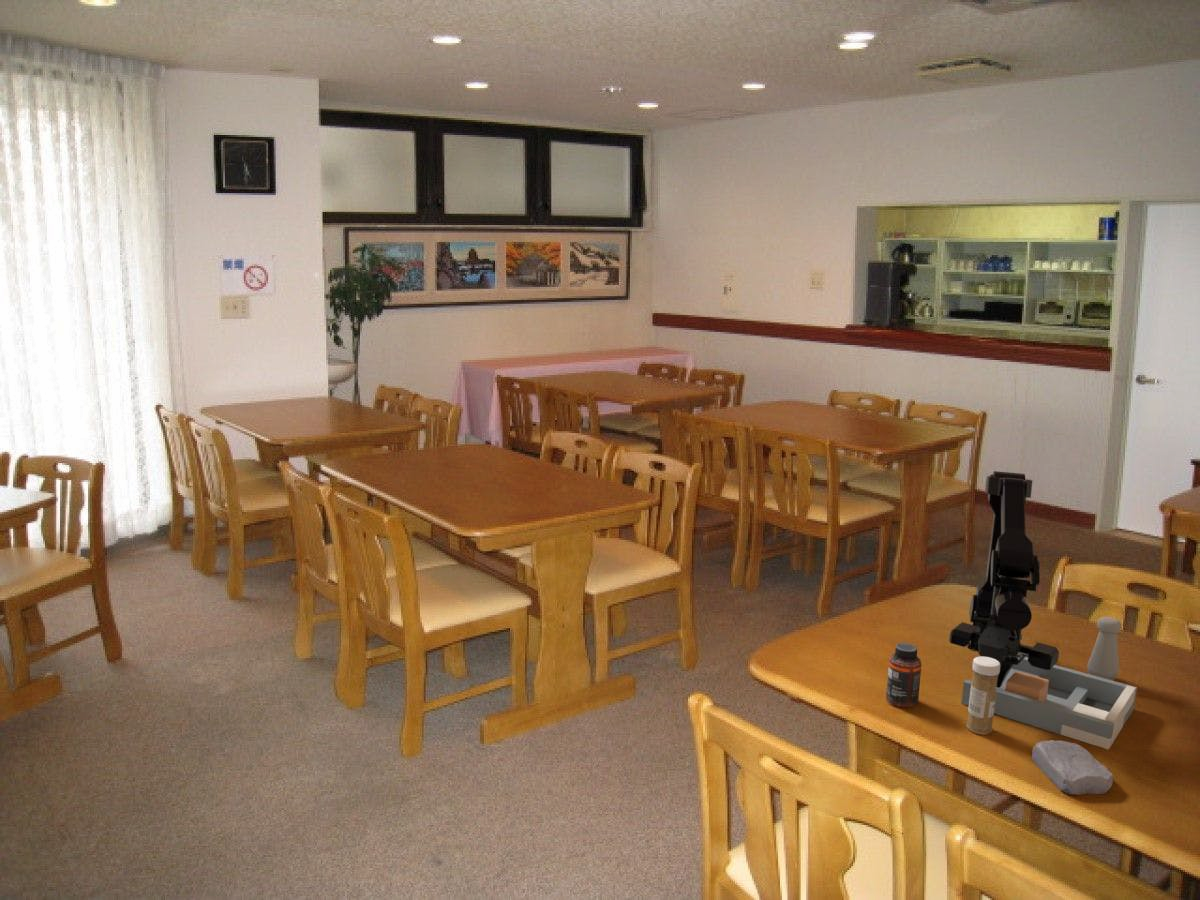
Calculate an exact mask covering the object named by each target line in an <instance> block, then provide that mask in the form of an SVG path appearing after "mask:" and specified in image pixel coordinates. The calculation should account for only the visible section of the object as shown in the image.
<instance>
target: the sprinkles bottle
mask: <svg viewBox="0 0 1200 900" xmlns="http://www.w3.org/2000/svg"><path fill="white" fill-rule="evenodd" d="M971 667H972V677H971V678H972V679H971V681H972V684H971V690H970V699H969V706H968V708H967V710H968V714H967V722H966V723H965V724H966V729H967V730H968V731H970V732H971V733H974V734H977V735H990V734H991V733H992V732H993V723H994V722H993V721H994V715H995V714H994V708H995V699H996V687H997V679H998V674H999V672H1000V663H999V661H997V660H996V659H993V658H990V657H983V656H976V657H974V658H973V660H972V666H971Z"/></svg>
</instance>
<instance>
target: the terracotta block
mask: <svg viewBox="0 0 1200 900" xmlns="http://www.w3.org/2000/svg"><path fill="white" fill-rule="evenodd" d="M1048 685H1049V680H1048V679H1044V678H1041V677H1037V676H1034V675H1030V674H1026V673H1023V672H1019V671H1016V672H1015V673H1014V674H1013V675H1012V676H1011V677H1010V678H1009V679H1008V680H1007V682H1006V689H1005V691H1008V692H1011V693H1015V694H1018V695H1021V696H1025V697H1028V698H1032V699H1035V700H1038V701H1042V702H1045V701H1046V699H1047V692H1048Z"/></svg>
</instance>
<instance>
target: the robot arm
mask: <svg viewBox="0 0 1200 900" xmlns="http://www.w3.org/2000/svg"><path fill="white" fill-rule="evenodd" d="M984 489H985V490H984V491H985V494H987V500H988V503H989V506H990V508H991V510H992V511H993V512H992V513H993V515H992V525H991V533H990V541H989V549H988V557H987V558H988V559H987V564H986V565H987V566H986V573H985V576H984V577H983V578H982V579H981V580H980V581H979V583H978V584H977V585H976V590H975V594H972V596H971V600H970V605H969V612H968V613H969V615H968V616H969V622H970V623H972V624H970V623H966V622H960V623H958V624H957V625H956V626H955V627H954V628H952V629H951V631H950V634H949V640H948V641H949V643H950V644H952V645H956V646H960V647H963V648H964V647H966V646H967V648H969V649H971V650H975V651H978V655H979V657H981V656H983V657H990V658H993V659H996V660H997V661H999V663H1000V672H999V674H998V679H997V687H998V688H1000V687H1001V686H1002V684H1003V682H1004V680H1005V678H1006V677H1007V675H1008V673H1009V671H1010V670H1011V668H1012V666H1013V665H1018V664H1019V663H1020V662H1021V661H1022V660H1023V659H1024V658H1025V657H1028V662H1029V663H1030V664H1031V666H1034V667H1038V668H1041V669H1045V670H1050V669H1051V668H1052V667H1053V666H1054V665H1057V663H1058V661H1059V656H1060V652H1059V649H1058V648H1057V646H1053V645H1049V644H1046V643H1042V642H1036V643H1035V644H1034V645H1033V646H1029V645H1027V644H1023V643H1021V641H1022V639H1023V634H1022V630H1023V629H1026V628H1027V627H1028V626H1029V625H1030V623H1031V621H1032V618H1033V617H1032V615H1033V614H1032V609H1031V607H1030V604H1029V601H1028V596H1027V591H1031V592H1036V591H1037V586H1039V584H1040V583H1041V582H1040V581H1041V580H1040V577H1041V576H1040V575H1041V574H1040V560H1039V558H1038V555H1037V554H1034V553H1035V552H1034V542H1033V541H1032V540H1031V539H1030V538H1029V537H1028V535H1026V533H1027V532H1026V508H1025V507H1026V500H1027V499H1028V498H1029V499H1031V498H1032V489H1033V479H1026V474H1025V473H1020V472H1019V473H1018V472H1010V471H1009V472H1008V471H997V470H994V471H993V473H992V474H990V475H987V476H986V481H985V488H984ZM1029 578H1030V579H1031V580H1028V579H1029Z"/></svg>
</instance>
